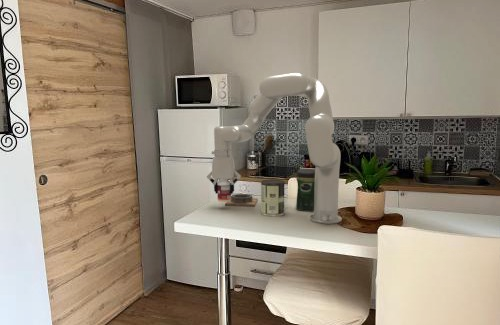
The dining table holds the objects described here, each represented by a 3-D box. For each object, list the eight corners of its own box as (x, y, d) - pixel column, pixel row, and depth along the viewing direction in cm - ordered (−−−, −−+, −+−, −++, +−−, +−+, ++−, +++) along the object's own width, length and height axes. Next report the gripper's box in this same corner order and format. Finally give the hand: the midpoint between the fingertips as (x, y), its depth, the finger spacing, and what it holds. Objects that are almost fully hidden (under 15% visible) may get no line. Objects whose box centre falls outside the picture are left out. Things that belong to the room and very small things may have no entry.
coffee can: (277, 209, 166) (278, 178, 165) (288, 215, 157) (289, 182, 155) (257, 211, 162) (257, 180, 161) (266, 217, 153) (266, 183, 151)
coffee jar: (318, 208, 169) (319, 168, 167) (316, 212, 161) (317, 170, 159) (297, 206, 172) (298, 167, 170) (294, 210, 164) (295, 169, 162)
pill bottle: (217, 199, 170) (216, 176, 169) (230, 199, 171) (230, 175, 170) (217, 202, 164) (217, 177, 163) (231, 201, 165) (230, 177, 163)
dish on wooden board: (254, 206, 171) (254, 199, 171) (225, 205, 173) (225, 198, 173) (257, 200, 185) (257, 193, 185) (230, 199, 187) (230, 192, 186)
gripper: (202, 154, 162) (203, 194, 164) (241, 154, 160) (242, 194, 162) (206, 153, 170) (207, 191, 172) (243, 152, 168) (244, 191, 170)
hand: (224, 192), depth 167 cm, fingers closed on pill bottle, 6 cm apart
